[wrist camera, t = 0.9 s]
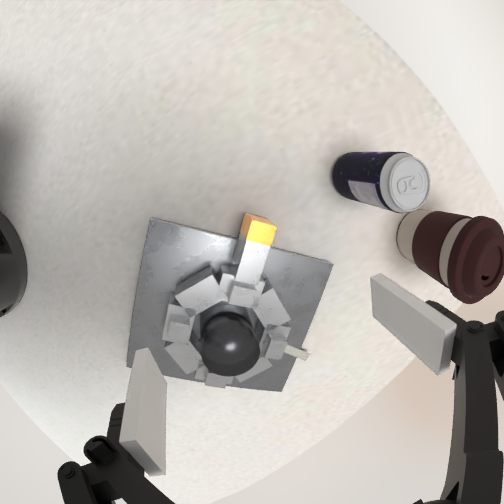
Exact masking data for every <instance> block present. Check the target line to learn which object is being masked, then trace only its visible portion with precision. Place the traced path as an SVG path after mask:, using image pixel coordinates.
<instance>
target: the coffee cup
mask: <svg viewBox="0 0 504 504" xmlns="http://www.w3.org/2000/svg"><path fill="white" fill-rule="evenodd" d="M397 242H398V247H399V250H400V252H401V253H402V255H403V256H404V257H405V258H407V259H408V260H410V261H412V262H413V263H415V264H416V265H417V266H418V268H419V269H421V270H422V271H424V272H425V273H426V274H428V275H429V276H431V277H432V278H434V279H435V280H437V281H438V282H439V283H441V284H442V285H444V286H445V287H447V288H449V289H450V292H451V293H452V295H453V296H454V297H455V298H457V299H458V300H460V301H462V302H463V303H466V304H473V303H476V302H478V301H480V300H482V299H483V298H484V297H485V296H487V295H489V294H491V293H492V292H493V291H494V290H495V289H496V288H497V286H498V285H499V283H500V282H501V280H502V278H503V275H504V233H503V230H502V228H501V226H500V225H499V223H498V222H497V221H495V220H494V219H492V218H488V217H485V216H477V217H474V218H472V217H469V216H464V215H458V214H453V213H447V212H441V211H434V212H432V211H426V210H415V211H412V212H410V213H409V214H408V215H407V216H406V217H405V218H404V219H403V221H402V222H401V224H400V227H399V230H398V236H397Z"/></svg>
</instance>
